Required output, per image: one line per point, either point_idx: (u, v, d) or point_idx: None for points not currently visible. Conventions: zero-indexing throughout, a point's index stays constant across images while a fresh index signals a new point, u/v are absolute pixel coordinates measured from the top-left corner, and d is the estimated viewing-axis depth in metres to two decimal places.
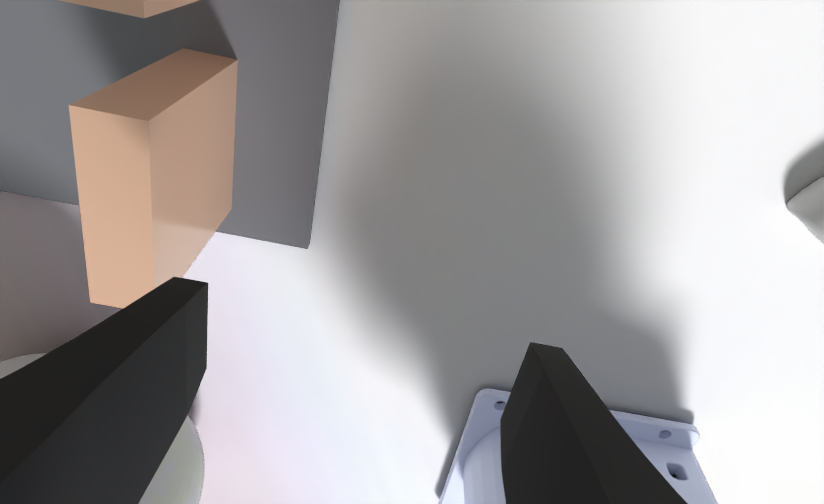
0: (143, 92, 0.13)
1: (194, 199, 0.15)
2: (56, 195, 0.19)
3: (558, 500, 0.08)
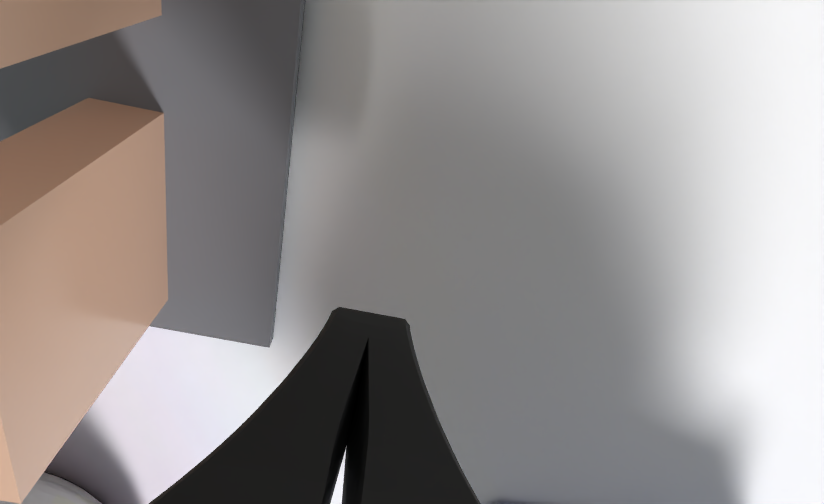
0: None
1: (92, 318, 0.11)
2: None
3: (357, 466, 0.08)
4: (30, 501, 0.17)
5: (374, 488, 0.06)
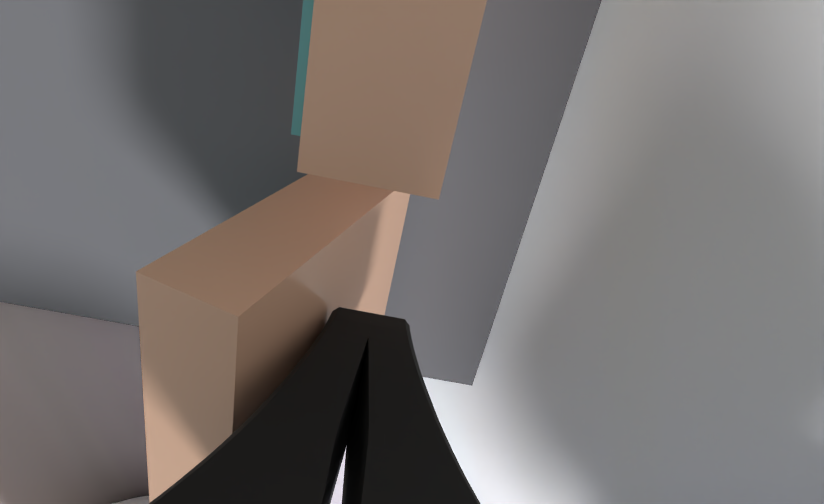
0: (259, 243, 0.09)
1: None
2: None
3: (357, 466, 0.08)
4: None
5: (374, 488, 0.06)
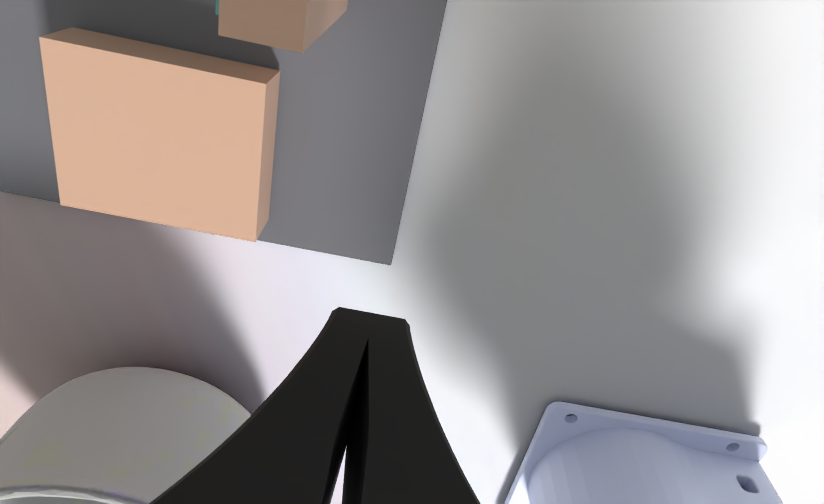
0: (116, 44, 0.16)
1: (143, 162, 0.17)
2: None
3: (356, 466, 0.08)
4: (199, 389, 0.21)
5: (374, 488, 0.06)
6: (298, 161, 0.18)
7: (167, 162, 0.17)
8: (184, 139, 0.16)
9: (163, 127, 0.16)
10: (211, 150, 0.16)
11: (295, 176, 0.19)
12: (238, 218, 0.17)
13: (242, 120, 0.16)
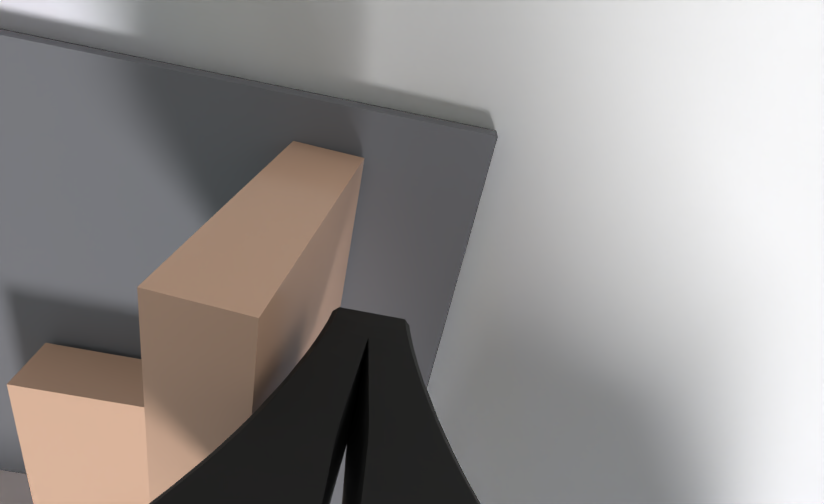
0: (91, 373, 0.15)
1: (121, 480, 0.16)
2: None
3: (356, 466, 0.08)
4: None
5: (374, 488, 0.06)
6: None
7: (147, 481, 0.16)
8: None
9: (141, 455, 0.15)
10: None
11: None
12: None
13: None
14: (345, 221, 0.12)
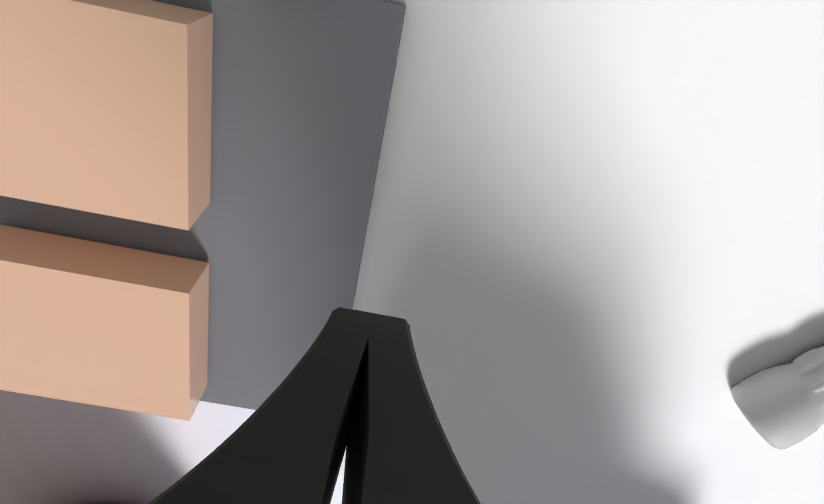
0: (41, 248, 0.16)
1: (73, 355, 0.17)
2: None
3: (357, 466, 0.08)
4: None
5: (374, 488, 0.06)
6: (234, 336, 0.18)
7: (96, 355, 0.17)
8: (112, 337, 0.16)
9: (90, 327, 0.16)
10: (139, 346, 0.16)
11: (231, 348, 0.19)
12: (171, 401, 0.18)
13: (168, 322, 0.16)
14: (136, 63, 0.12)
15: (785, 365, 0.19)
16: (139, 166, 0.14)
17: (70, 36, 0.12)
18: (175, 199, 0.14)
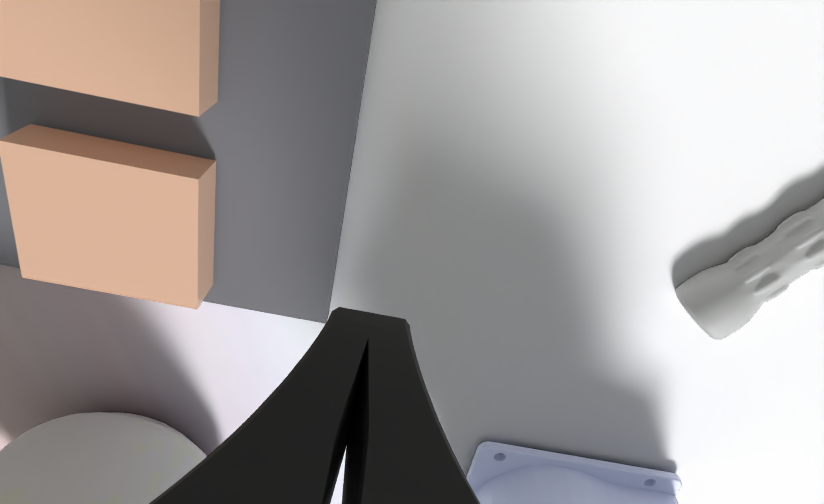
0: (67, 141, 0.18)
1: (93, 242, 0.19)
2: None
3: (356, 466, 0.08)
4: (154, 433, 0.23)
5: (374, 488, 0.06)
6: (237, 235, 0.20)
7: (115, 242, 0.19)
8: (129, 224, 0.18)
9: (110, 214, 0.18)
10: (153, 233, 0.18)
11: (235, 247, 0.21)
12: (181, 289, 0.20)
13: (179, 209, 0.18)
14: None
15: (722, 264, 0.21)
16: (157, 54, 0.16)
17: None
18: (187, 86, 0.16)
